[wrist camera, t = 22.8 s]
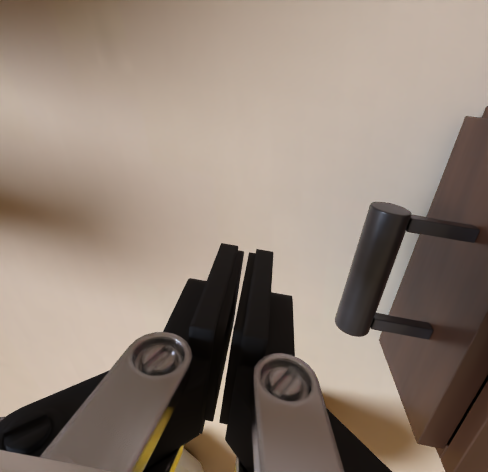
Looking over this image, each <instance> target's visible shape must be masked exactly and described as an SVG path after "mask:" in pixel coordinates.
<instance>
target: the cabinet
mask: <svg viewBox="0 0 488 472" xmlns="http://www.w3.org/2000/svg"><path fill="white" fill-rule="evenodd" d="M482 118H485V119H488V106H487V107H486V109H485V111H484V114H483V116H482ZM435 448H436V447H435ZM436 450H437V453H438V455H439V457H440V458H441V462H442V464H443V467H444V469H445V472H488V381H487V383H486V384H485V386H484V388H483V389H482V391H481V393H480V394H479V396H478V398H477V399H476V401H475V403H474V404H473V406H472V408H471V409H470V411H469V413H468V414H467V412H465V414H464V416H463V418H462V419H461V421H460V423H459V424H458V426H457V428H456V429H455V431H454V433H453V434H452V436H451V438H450V439H449V441H448V443H447V445H446V446H445V448H444V449H441V448H436Z"/></svg>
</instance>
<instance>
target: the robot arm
mask: <svg viewBox="0 0 488 472" xmlns="http://www.w3.org/2000/svg"><path fill="white" fill-rule="evenodd" d="M243 256H244V251H238V246H235V245H229V244H223V243H221V245H220V248H219V251H218V253H217V256H216V258H215V261H214V264H213V266H212V269H211V271H210V274H209V277H208V279H207V281H202V280H197V279H191V278H190V279H188V281H187V283H186V285H185V287H184V289H183V291H182V293H181V295H180V298H179V300H178V302H177V304H176V306H175V308H174V310H173V312H172V314H171V316H170V318H169V321H168V323H167V325H166V327H165V329H164V331H163V332H154V333H151V334H147V335H144V336H142V337H140V338H138V339H137V340H135V341H134V342H133V343H132V344H131V345H130V346H129V347H128V349H127V350H126V351H125V352H124V353H123V355H122V356H121V357H120V358H119V360H118V361H117V362H116V363H115V365H114V366H113V367H112V368H111V369H110V371H107V372H105V373H102V374H100V375H98V376H95V377H93V378H91V379H88V380H86V381H83V382H81V383H79V384H76V385H74V386H72V387H69V388H67V389H65V390H62V391H60V392H57V393H55V394H53V395H50V396H48V397H46V398H43V399H41V400H38V401H36V402H34V403H31V404H29V405H27V406H24V407H22V408H20V409H18V410H16V411H14V412H13V413H11V414H9V415H8V416H6V417H0V472H175V469H176V467H177V465H178V462H179V460H180V458H181V455H182V452H183V449H184V444H186V443H187V442H189V441H190V440H192V439H193V438H195V437H197V436H198V435H199V433H201V434H202V432H203V427H204V423H205V420H208V421H213V419H214V414H215V409H216V404H217V399H218V395H219V390H220V385H221V380H222V375H223V371H224V366H225V361H226V356H227V351H228V346H229V342H230V337H231V332H232V327H233V322H234V315H235V309H236V302H237V295H238V289H239V282H240V276H241V269H242V262H243ZM272 267H273V252H270V251H264V250H258V249H257V250H256V254H255V253H249V256H248V261H247V266H246V271H245V276H244V281H243V286H242V291H241V296H240V301H239V306H238V311H237V316H236V321H235V326H234V331H233V337H232V343H231V350H230V356H229V363H228V369H227V376H226V382H225V389H224V395H223V402H222V409H221V415H220V422H219V423H223V424H228V425H227V431H226V437H225V440H226V442H227V443H228V445H229V446H230V447H231V449H232V450H233V452H234V453H235V454H236V456H237V457H236V465H235V467H236V472H392V471H391V470H390V469H389V468H388V467H387V466H386V465H384V464H383V463H382V462H381V461H380V460H379V459H378V458H377V457H376V456H375V455H374V454H373V453H372V452H371V451H370V450H369V449H368V448H367V447H366V446H365V445H364V444H363V443H362V442H361V441H360V440H359V439H358V438H357V437H356V436H355V435H354V434H353V433H352V432H350V431H349V430H348V429H347V428H346V427H345V426H344V425H343V424H342V423H341V422H340V421H339V420H338V419H337V418H336V417H335V416H334V415H333V414H332V413H331V412H330V411H329V410H328V409H327V408H326V406H325V402H324V399H323V395H322V392H321V388H320V385H319V381H318V379H317V377H316V375H315V372H314V371H313V370H312V369H311V368H310V366H309V365H308V364H306V363H305V362H304V361H302V360H301V359H299V358H297V357H295V352H294V326H293V301H292V296H289V295H283V294H277V293H272V292H271V283H272Z"/></svg>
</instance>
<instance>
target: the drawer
mask: <svg viewBox="0 0 488 472" xmlns="http://www.w3.org/2000/svg"><path fill="white" fill-rule="evenodd" d="M405 231H407V232H411V233H417V234H420V235H419V238H418V240H417V243H416V246H415V248H414V251H413V253H412V256H411V259H410V261H409V264H408V266H407V269H406V271H405V274H404V277H403V279H402V282H401V284H400V287H399V290H398V292H397V295H396V297H395V300H394V302H393V305H392V308H391V310H390V313H389V315H385V314H380V313H376V311H377V308H378V305H379V302H380V300H381V297H382V294H383V291H384V289H385V286H386V283H387V280H388V278H389V275H390V272H391V270H392V267H393V264H394V261H395V259H396V256H397V253H398V250H399V248H400V245H401V242H402V240H403V237H404V234H405ZM335 323H336V325H337V327H338V328H339V329H340V330H342V331H343V332H345V333H347V334H349V335H352V336H358V337H360V336H365V335H366V334H368V332H369V330H370V327H371V329H374V330H379V331H382V333H381V336H380V339H379V341H380V344H381V347H382V349H383V352H384V355H385V357H386V360H387V363H388V366H389V368H390V371H391V374H392V376H393V379H394V382H395V385H396V387H397V390H398V393H399V395H400V398H401V401H402V404H403V406H404V409H405V412H406V414H407V417H408V420H409V422H410V425H411V428H412V431H413V433H414V436H415V439H416V441H417V443H418V444H422V445H426V446H431V447H436V448H441V449H444V448H445V446H446V445H447V443H448V441H449V439H450V438H451V436H452V434H453V433H454V431H455V429H456V428H457V426H458V424H459V423H460V421H461V419H462V418H463V416H464V414H465V412H467V414H468V413H469V411H470V409H471V408H472V406H473V404H474V403H475V401H476V399H477V398H478V396H479V394H480V393H481V391H482V389H483V388H484V386H485V384H486V383H487V381H488V119H485V118H477V117H469V116H466V117H465V119H464V122H463V124H462V127H461V130H460V132H459V135H458V137H457V140H456V142H455V145H454V148H453V150H452V153H451V155H450V158H449V160H448V163H447V166H446V168H445V171H444V173H443V176H442V179H441V181H440V184H439V186H438V189H437V191H436V194H435V197H434V199H433V202H432V204H431V207H430V210H429V212H428V215H427V217H422V216H416V215H411V212H410V211H408V210H407V209H405V208H403V207H400V206H398V205H394V204H390V203H385V202H373V203H371V204H370V207H369V210H368V213H367V217H366V220H365V223H364V226H363V230H362V233H361V236H360V239H359V243H358V246H357V249H356V252H355V256H354V259H353V262H352V265H351V269H350V272H349V275H348V278H347V282H346V285H345V288H344V291H343V295H342V298H341V301H340V304H339V308H338V311H337V314H336V317H335Z"/></svg>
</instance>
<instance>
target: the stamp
mask: <svg viewBox="0 0 488 472" xmlns="http://www.w3.org/2000/svg"><path fill="white" fill-rule="evenodd" d="M175 472H204V470H203V468H202V465H201V463H200V462H199V461H198V460H197V459H196V458H195V457H193V456H192V455H191V454H190V453H189V452H187V451H186V450H185V449H183V452H182V455H181V458H180V460H179V462H178V465H177V467H176V469H175Z"/></svg>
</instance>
